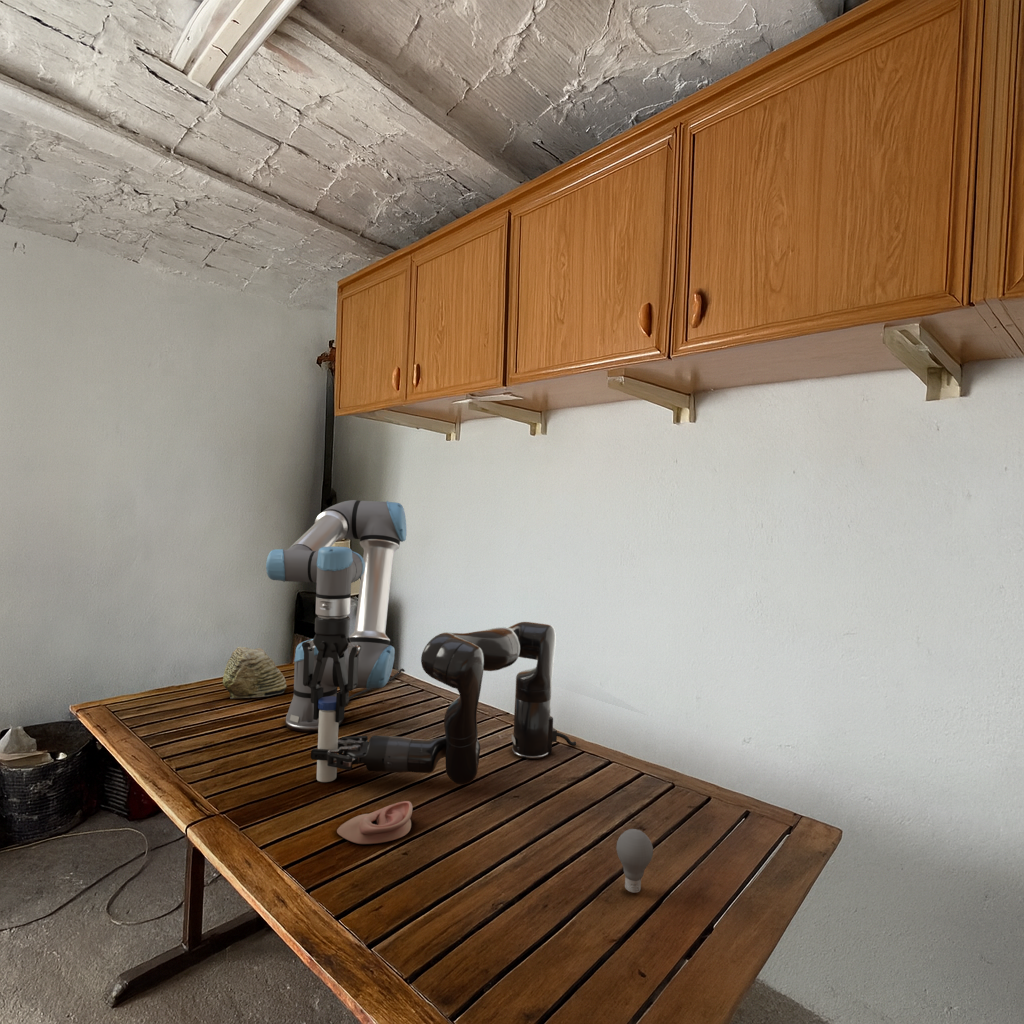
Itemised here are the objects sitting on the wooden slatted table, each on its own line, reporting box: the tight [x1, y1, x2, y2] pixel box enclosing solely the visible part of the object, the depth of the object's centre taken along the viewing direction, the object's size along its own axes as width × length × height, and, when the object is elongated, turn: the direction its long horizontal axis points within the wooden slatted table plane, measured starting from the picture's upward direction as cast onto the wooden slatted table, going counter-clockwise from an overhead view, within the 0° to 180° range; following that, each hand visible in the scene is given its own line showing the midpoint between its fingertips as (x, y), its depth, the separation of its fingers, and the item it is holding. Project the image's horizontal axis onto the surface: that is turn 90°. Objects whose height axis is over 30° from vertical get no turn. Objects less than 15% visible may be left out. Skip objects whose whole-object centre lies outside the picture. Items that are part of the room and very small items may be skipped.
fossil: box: [222, 646, 288, 699], centre depth 198 cm, size 9×18×15 cm, turn 132°
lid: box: [318, 696, 336, 711], centre depth 142 cm, size 5×5×2 cm
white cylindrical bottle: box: [316, 709, 340, 783], centre depth 143 cm, size 4×4×17 cm
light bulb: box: [615, 828, 654, 894], centre depth 106 cm, size 6×6×10 cm
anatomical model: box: [336, 800, 414, 845], centre depth 121 cm, size 13×4×12 cm
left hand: (328, 718), depth 142 cm, fingers closed on lid, 5 cm apart
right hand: (315, 749), depth 143 cm, fingers closed on white cylindrical bottle, 4 cm apart
